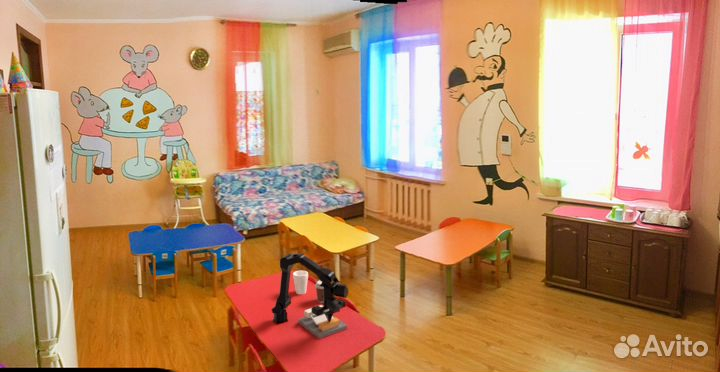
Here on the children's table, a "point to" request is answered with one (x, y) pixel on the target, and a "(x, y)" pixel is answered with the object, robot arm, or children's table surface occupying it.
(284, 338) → the children's table surface
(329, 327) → the orange key
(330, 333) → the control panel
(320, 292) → the coffee cup
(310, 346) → the children's table surface
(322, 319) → the cream plate with stripe
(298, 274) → the foam cup
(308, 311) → the cream key
